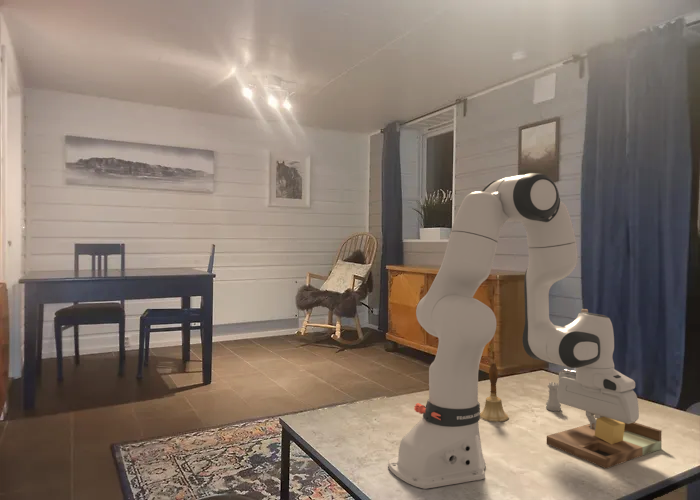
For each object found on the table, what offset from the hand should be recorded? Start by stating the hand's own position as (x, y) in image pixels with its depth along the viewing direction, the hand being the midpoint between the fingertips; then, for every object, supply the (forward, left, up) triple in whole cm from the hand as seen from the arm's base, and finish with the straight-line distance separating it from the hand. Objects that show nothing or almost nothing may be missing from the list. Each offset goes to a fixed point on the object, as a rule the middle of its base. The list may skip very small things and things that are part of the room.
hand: (595, 430), depth 124 cm
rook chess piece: (+12, +23, -3) cm, 26 cm away
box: (-1, -2, -3) cm, 4 cm away
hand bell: (-9, +27, -3) cm, 28 cm away
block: (0, -3, -1) cm, 4 cm away
